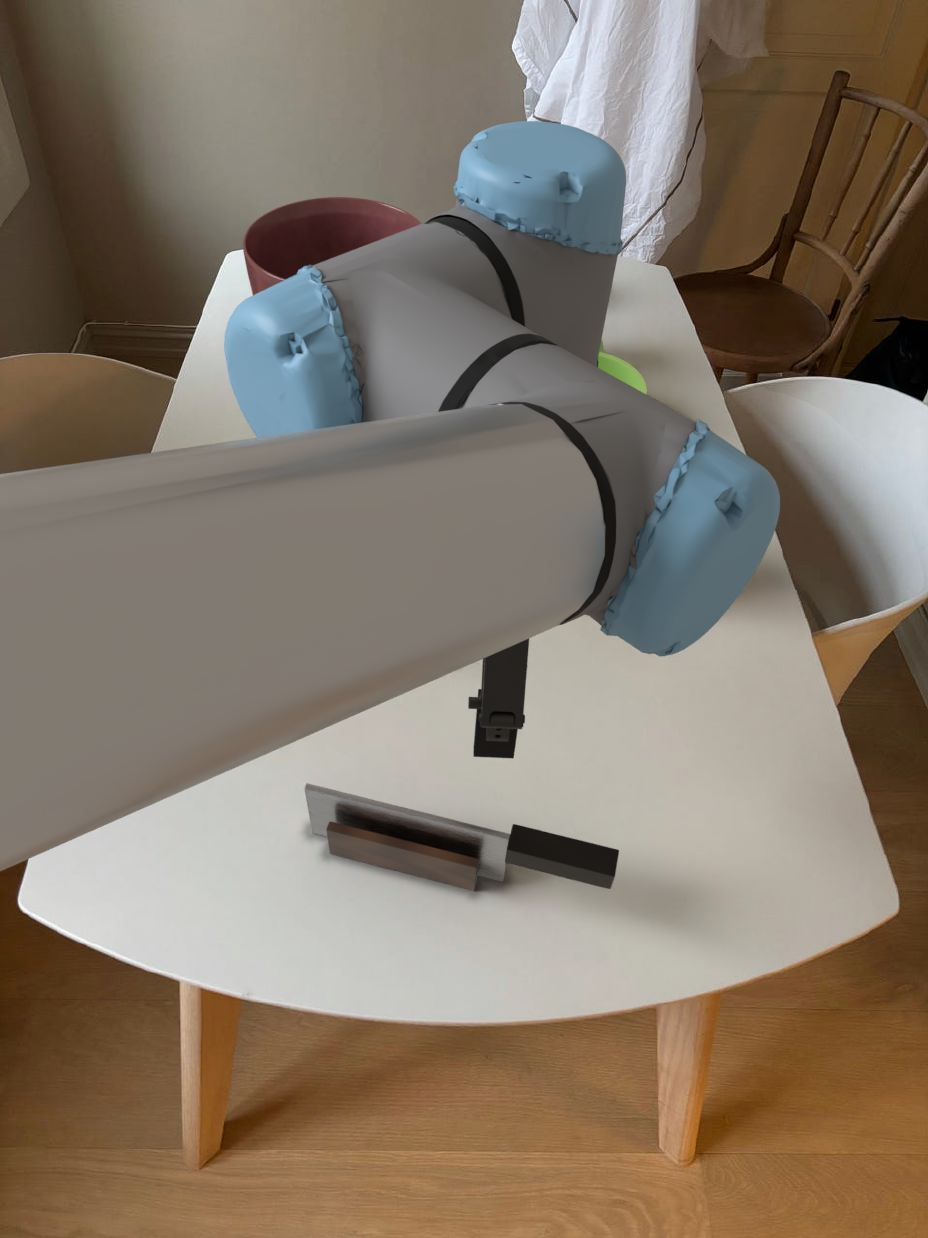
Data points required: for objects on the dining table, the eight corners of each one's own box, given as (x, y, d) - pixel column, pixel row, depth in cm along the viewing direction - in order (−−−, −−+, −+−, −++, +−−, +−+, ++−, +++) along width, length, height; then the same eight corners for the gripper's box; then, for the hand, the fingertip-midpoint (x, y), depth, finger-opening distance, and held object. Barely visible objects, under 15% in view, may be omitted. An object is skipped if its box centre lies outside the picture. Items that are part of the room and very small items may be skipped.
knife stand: (483, 855, 76) (486, 831, 73) (474, 891, 74) (476, 868, 71) (342, 819, 77) (339, 794, 74) (329, 854, 75) (325, 829, 72)
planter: (302, 477, 106) (280, 303, 90) (246, 384, 117) (217, 216, 101) (456, 431, 112) (461, 262, 96) (388, 348, 123) (383, 183, 107)
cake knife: (605, 892, 74) (619, 849, 69) (600, 918, 73) (615, 876, 67) (317, 819, 77) (310, 773, 72) (308, 842, 76) (299, 797, 71)
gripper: (602, 605, 43) (552, 831, 59) (573, 317, 60) (540, 554, 76) (440, 597, 43) (433, 826, 59) (456, 311, 60) (448, 550, 76)
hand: (493, 673), depth 68 cm, fingers open, 13 cm apart
